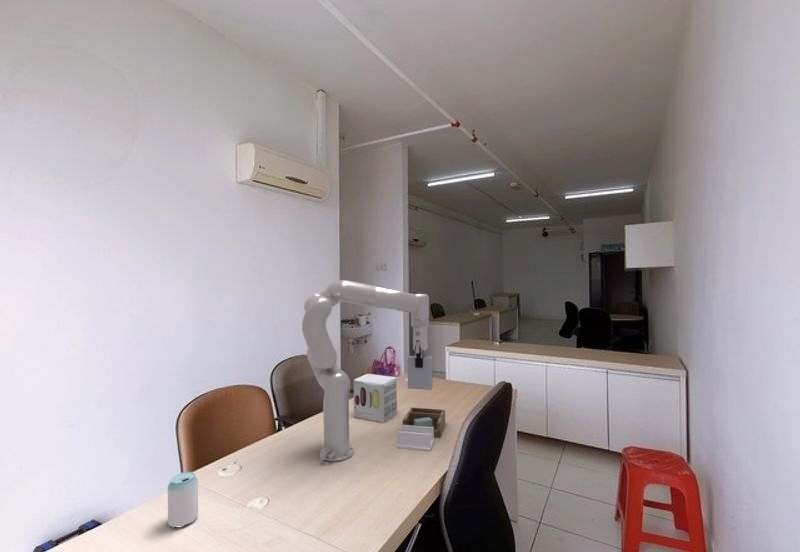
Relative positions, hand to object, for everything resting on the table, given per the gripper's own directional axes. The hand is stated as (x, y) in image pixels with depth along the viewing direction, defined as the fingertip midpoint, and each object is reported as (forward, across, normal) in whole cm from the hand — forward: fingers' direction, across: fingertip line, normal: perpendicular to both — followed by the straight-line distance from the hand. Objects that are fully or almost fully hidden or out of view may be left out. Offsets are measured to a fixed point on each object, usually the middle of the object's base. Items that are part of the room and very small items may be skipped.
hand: (419, 366), depth 153 cm
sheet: (+9, 0, 0) cm, 9 cm away
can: (+31, -67, +54) cm, 91 cm away
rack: (+28, +6, -1) cm, 29 cm away
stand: (+29, -10, 0) cm, 30 cm away
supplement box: (+29, +17, +24) cm, 42 cm away
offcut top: (+26, +1, -1) cm, 26 cm away
